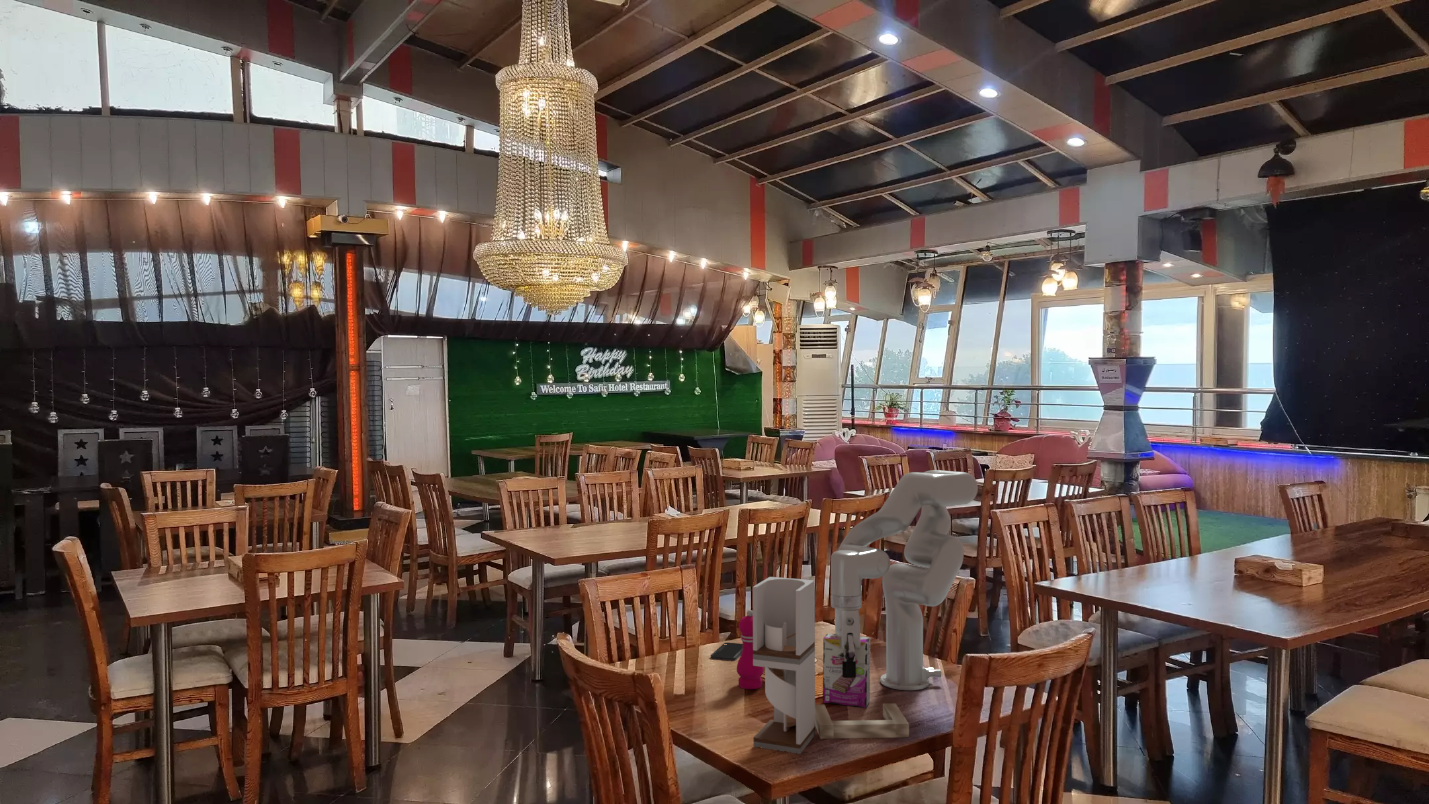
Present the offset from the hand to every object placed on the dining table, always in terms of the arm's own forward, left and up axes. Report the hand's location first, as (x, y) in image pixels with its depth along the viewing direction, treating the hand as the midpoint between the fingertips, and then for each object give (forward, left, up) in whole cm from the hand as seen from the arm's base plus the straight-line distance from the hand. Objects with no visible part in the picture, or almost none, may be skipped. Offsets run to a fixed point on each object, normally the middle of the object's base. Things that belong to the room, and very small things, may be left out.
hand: (846, 671), depth 221 cm
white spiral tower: (+18, +23, -8) cm, 30 cm away
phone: (+27, -44, -8) cm, 52 cm away
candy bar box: (0, 0, -8) cm, 8 cm away
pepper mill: (+23, -14, -8) cm, 28 cm away
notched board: (0, +16, -8) cm, 18 cm away
